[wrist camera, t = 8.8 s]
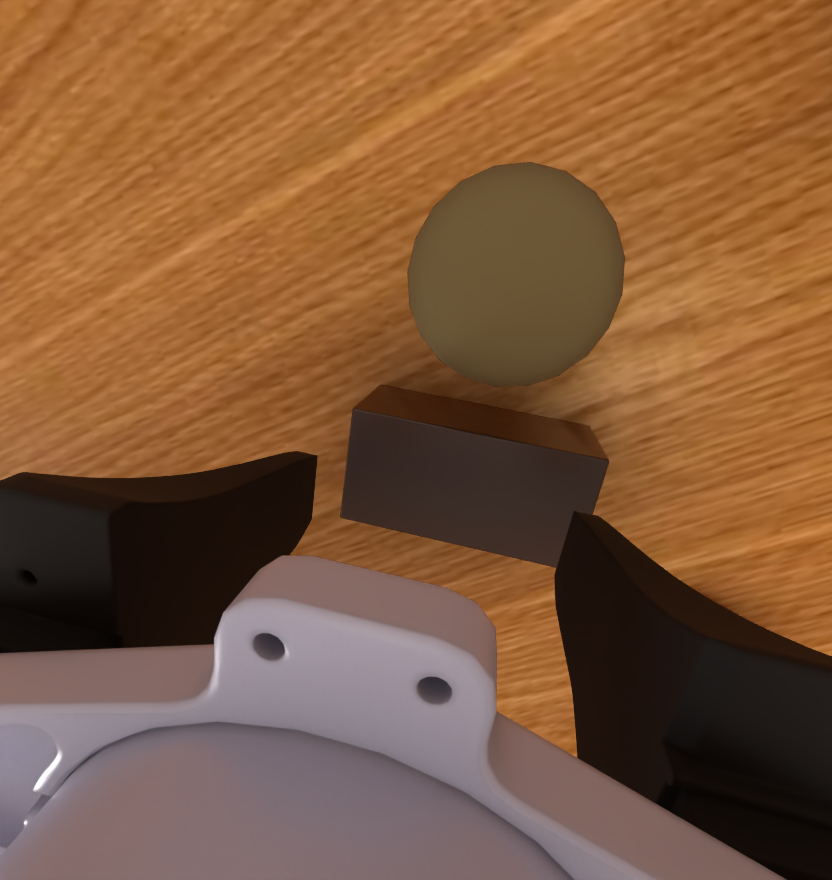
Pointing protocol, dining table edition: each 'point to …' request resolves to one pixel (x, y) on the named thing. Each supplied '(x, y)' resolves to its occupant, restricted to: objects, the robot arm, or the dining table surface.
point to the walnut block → (469, 473)
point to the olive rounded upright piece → (516, 274)
